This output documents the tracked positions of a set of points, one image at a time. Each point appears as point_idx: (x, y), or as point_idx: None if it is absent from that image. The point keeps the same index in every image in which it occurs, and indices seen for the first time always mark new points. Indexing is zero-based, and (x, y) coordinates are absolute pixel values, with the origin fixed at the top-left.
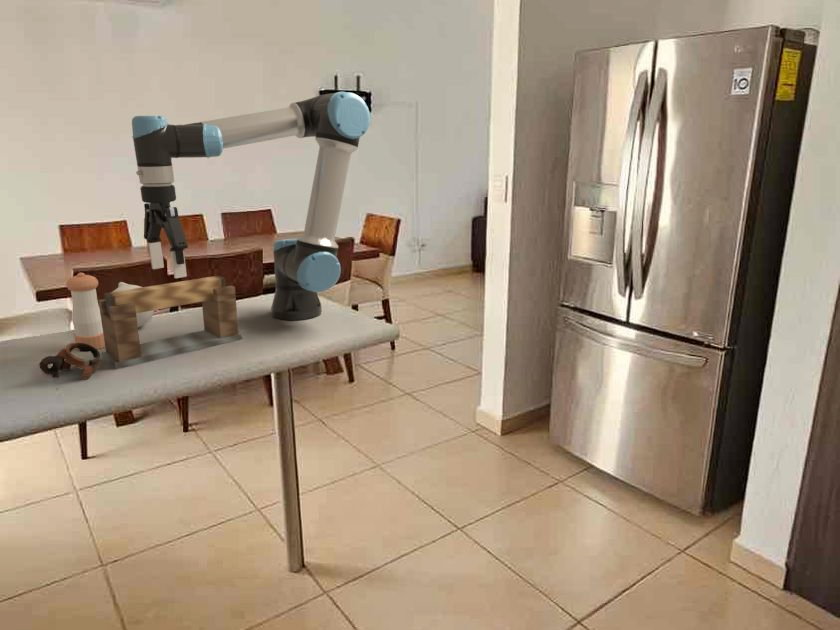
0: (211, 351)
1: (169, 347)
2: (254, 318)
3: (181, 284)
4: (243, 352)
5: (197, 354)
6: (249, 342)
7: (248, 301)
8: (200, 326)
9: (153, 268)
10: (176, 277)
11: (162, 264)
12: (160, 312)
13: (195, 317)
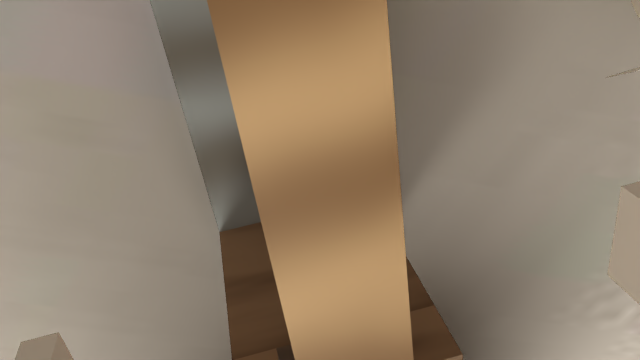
0: (139, 170)
1: (200, 16)
2: None
3: (306, 293)
4: (69, 270)
5: (124, 114)
6: (184, 303)
7: (629, 355)
8: (484, 186)
9: (627, 192)
10: (26, 355)
11: (630, 287)
12: (627, 72)
13: (602, 187)
